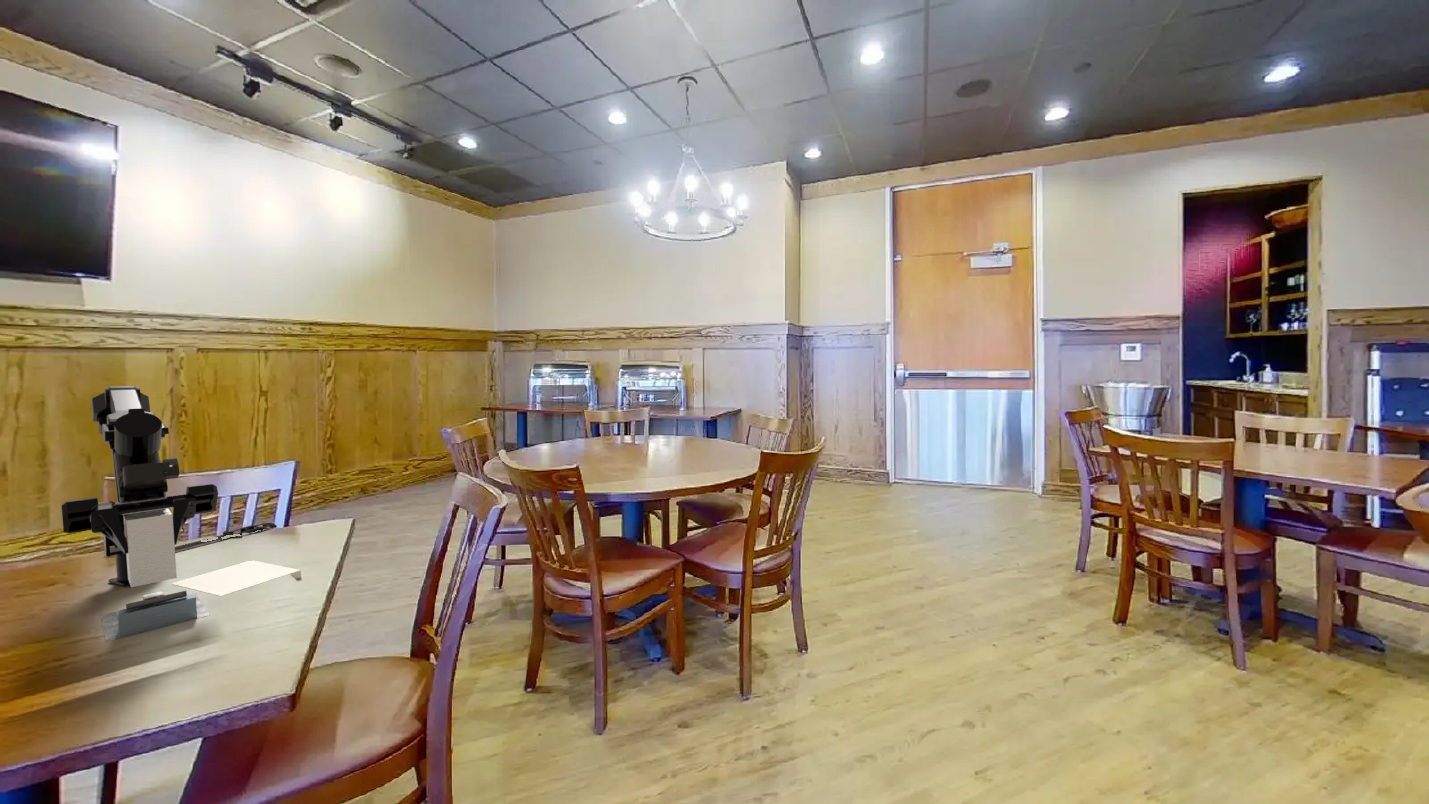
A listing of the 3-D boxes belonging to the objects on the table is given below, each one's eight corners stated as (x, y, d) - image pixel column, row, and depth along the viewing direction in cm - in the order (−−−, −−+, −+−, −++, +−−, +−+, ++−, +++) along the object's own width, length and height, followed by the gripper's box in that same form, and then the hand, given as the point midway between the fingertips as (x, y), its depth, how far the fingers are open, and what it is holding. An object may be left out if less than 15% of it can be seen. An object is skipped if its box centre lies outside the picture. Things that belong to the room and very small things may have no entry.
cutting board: (171, 591, 110) (170, 583, 110) (252, 566, 123) (251, 560, 123) (221, 603, 104) (221, 595, 104) (301, 577, 117) (300, 570, 117)
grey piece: (101, 623, 96) (98, 588, 96) (196, 601, 106) (194, 569, 105) (106, 651, 87) (103, 612, 87) (210, 623, 96) (207, 588, 96)
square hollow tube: (128, 579, 96) (123, 514, 95) (172, 570, 100) (168, 508, 99) (131, 587, 92) (126, 520, 91) (176, 577, 96) (172, 513, 95)
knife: (159, 559, 130) (158, 553, 130) (145, 555, 133) (144, 549, 133) (281, 529, 153) (281, 524, 153) (267, 526, 156) (267, 521, 155)
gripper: (57, 451, 90) (63, 533, 83) (212, 439, 104) (229, 509, 98) (60, 493, 96) (67, 573, 89) (207, 476, 110) (222, 544, 103)
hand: (151, 547), depth 95 cm, fingers closed on square hollow tube, 5 cm apart
